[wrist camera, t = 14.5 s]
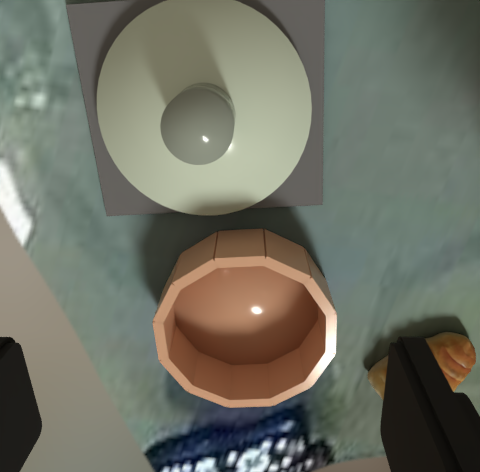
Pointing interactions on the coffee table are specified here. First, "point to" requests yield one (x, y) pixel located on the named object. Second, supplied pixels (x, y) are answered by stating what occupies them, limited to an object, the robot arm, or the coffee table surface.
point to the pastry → (447, 355)
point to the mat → (267, 3)
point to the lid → (204, 105)
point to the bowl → (245, 319)
